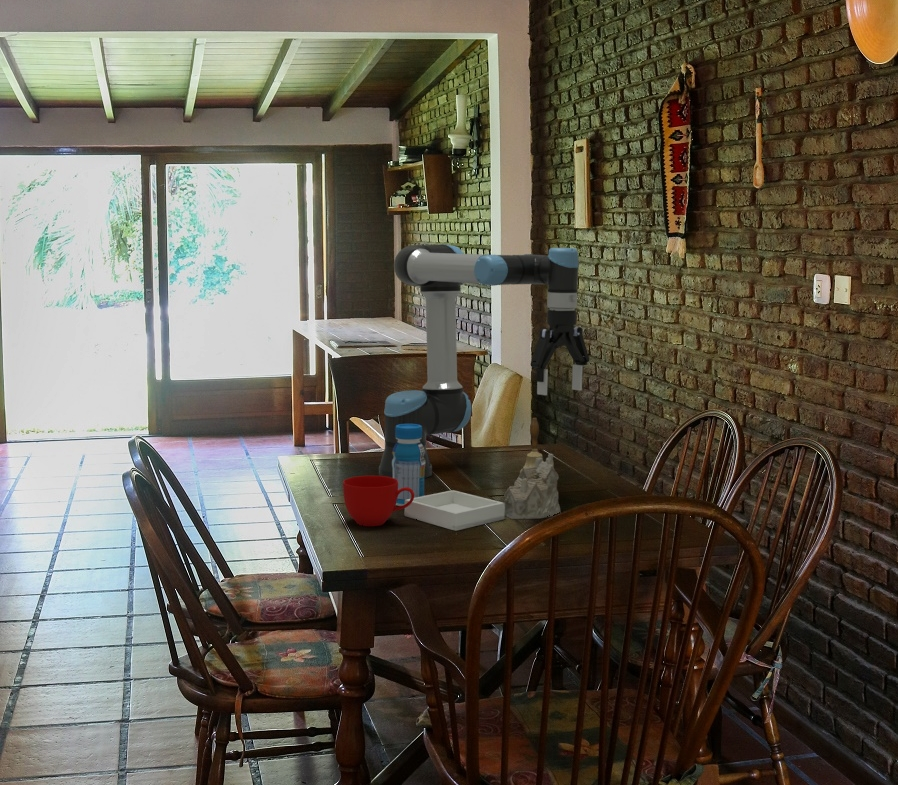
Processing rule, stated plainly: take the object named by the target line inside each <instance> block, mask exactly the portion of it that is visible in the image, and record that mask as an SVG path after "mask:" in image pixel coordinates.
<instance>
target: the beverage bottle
mask: <svg viewBox="0 0 898 785" xmlns="http://www.w3.org/2000/svg"><path fill="white" fill-rule="evenodd" d="M395 437H396V439H398V441H397V443H396V444H395V446H394V448H393V452H392V454H393V456H394V458H393V460H392V467H393V478H395V479H397V480H398V490H399V489H401V488H404V487H408V488H411V489H412V490H413V492H414V498H416V497H421V496H425V478H424V472H425V459H424V454H425V450H424V447H423V445H422V443H421V442H420V439H422V426H421V425H418V424H399V425H396V428H395ZM406 499H411V493H410V492H409V491H402V492H401V493H400V494H399V495H398V497H397V501H396V505H395V506H396V507H400V506H403V505H405V500H406Z"/></svg>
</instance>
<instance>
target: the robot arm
mask: <svg viewBox="0 0 898 785" xmlns="http://www.w3.org/2000/svg"><path fill="white" fill-rule="evenodd" d="M579 267H580V264H579V251H578V250H577V248H574V247H551V248H549V250H548V254H547V255H542V254H533V253H531V254H530V253H529V254H527V253H526V254H478V253H464V252H463V251H462V249H461V248H459V247H457V246H456V245H451V244H444V243H441V244H411V245H408V246H407V245H406V246H405V247H403V248H402V249H401V250H399V251H398V253H397V254H396V255H395V258H394V261H393V271H394V273H395V276H396V277H397V278H398V280H399V281H400V282H402V283H403V284H405V285H408V286H411V287H419V288H420V289H419V290H420V291H419V292H420V294H421V295H422V296H423V297H424V299H425V317H426V320H425V323H426V324H425V325H426V327H425V328H426V369H427V376H426V377H427V381H426V383H425V384H424V385H422V390H418V389H414V390H403V391H397V392H395V393H394V392H393V393H391V394H390V395H388V396H387V397H386V399H385V400H384V401H385V402H384V411H383V413H384V450H383V453H382V456H381V460H380V464H379V466H378V476H386V477H391V478H393V467H392V460H393V458H394V456H393V454H392V452H393V448H394V446H395V444H396V443H397V441H398V439H396V437H395V428H396V425H399V424H418V425H421V426H422V439H420V442H421V443H422V445H423V447H424V450H425V454H424V459H425V472H424V479H425V478H429V477H431V476H432V475H433V466H432V463H431V460H430V456H429V452H428V451H427V450H428V449H427V436H430V435H431V436H433V435H439V434H445V433H446V434H450V433H453V432H458V431H461V430H462V429H464V428H465V427H466V425H467V424H468V423H469V421H470V420H471V416H472V403H471V400H470V399H469V395H468V394H467V393H466V392H464V391H463V388H464V387H463V385H462V384H461V383H460V382H459V381H458V362H457V361H458V356H457V354H458V353H457V351H458V350H457V349H458V348H457V311H456V309H457V307H456V306H457V305H456V302H457V300H456V298H457V297H458V295H459V294H460V293H461V291H462V290H461V288H462V287H461V286H462V285H463V284H481V285H484V286H504V285H505V286H506V285H507V286H508V285H545V286H547V297H546V298H547V300H546V302H547V303H546V306H547V308H549V309H548V310H547V311H546V324H548V326H549V328H548V329H545V328H541V329H540V330H539V337H538V341H537V344H536V346H535V348H534V349H535V350H534V352H533V356H532V358H531V361H530V366H531V367H532V368H533V369H536V378H535V379H536V382H537V383H536V384H537V385H536V387H537V388H536V394H537V395H538V396H539V395H541V396H548V382H549V381H548V376H549V374H548V372H549V371H548V370H549V369H547V368H546V367H547V366H548V365H549V362H550V361H551V359H552V357H553V355H554V353H555V352H556V350H557V349H559V347H563V346H565V347H566V350H567V351H568V353H569V354H570V357H571V358H572V360H573V362H574V363H575V364H572V372H571V373H572V377H571V378H572V380H571V390H573V391H574V390H575V391H583V377H584V366H587V365H588V363H589V362H590V356H589V352H588V349H587V346H586V343H585V338H584V336H583V327H581V326H576V325H577V324H578V323H577V322H578V321H577V320H578V318H577V317H578V311H577V310H575V309H577V307H578V284H579V283H578V282H579Z"/></svg>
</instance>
